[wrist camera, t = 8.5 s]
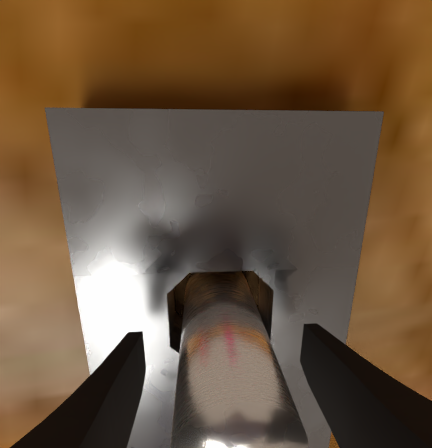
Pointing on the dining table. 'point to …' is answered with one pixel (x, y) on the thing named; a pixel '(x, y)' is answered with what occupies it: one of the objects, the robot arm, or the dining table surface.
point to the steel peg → (229, 372)
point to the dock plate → (212, 229)
